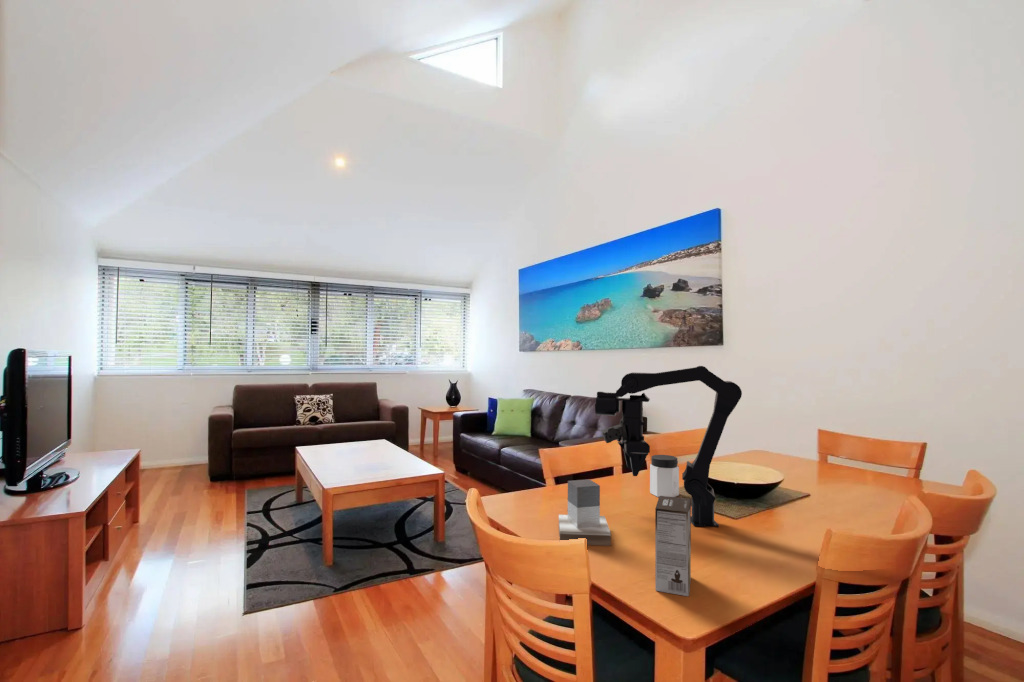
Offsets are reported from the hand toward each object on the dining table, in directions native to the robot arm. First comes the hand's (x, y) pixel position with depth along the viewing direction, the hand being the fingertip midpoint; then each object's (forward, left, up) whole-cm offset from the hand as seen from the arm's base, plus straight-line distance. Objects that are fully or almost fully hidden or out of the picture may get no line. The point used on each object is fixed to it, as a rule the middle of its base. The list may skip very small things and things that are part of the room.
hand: (632, 471), depth 138 cm
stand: (-17, +15, -12) cm, 26 cm away
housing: (-17, +15, -9) cm, 24 cm away
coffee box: (-41, -1, -12) cm, 43 cm away
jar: (+21, -14, -12) cm, 28 cm away
